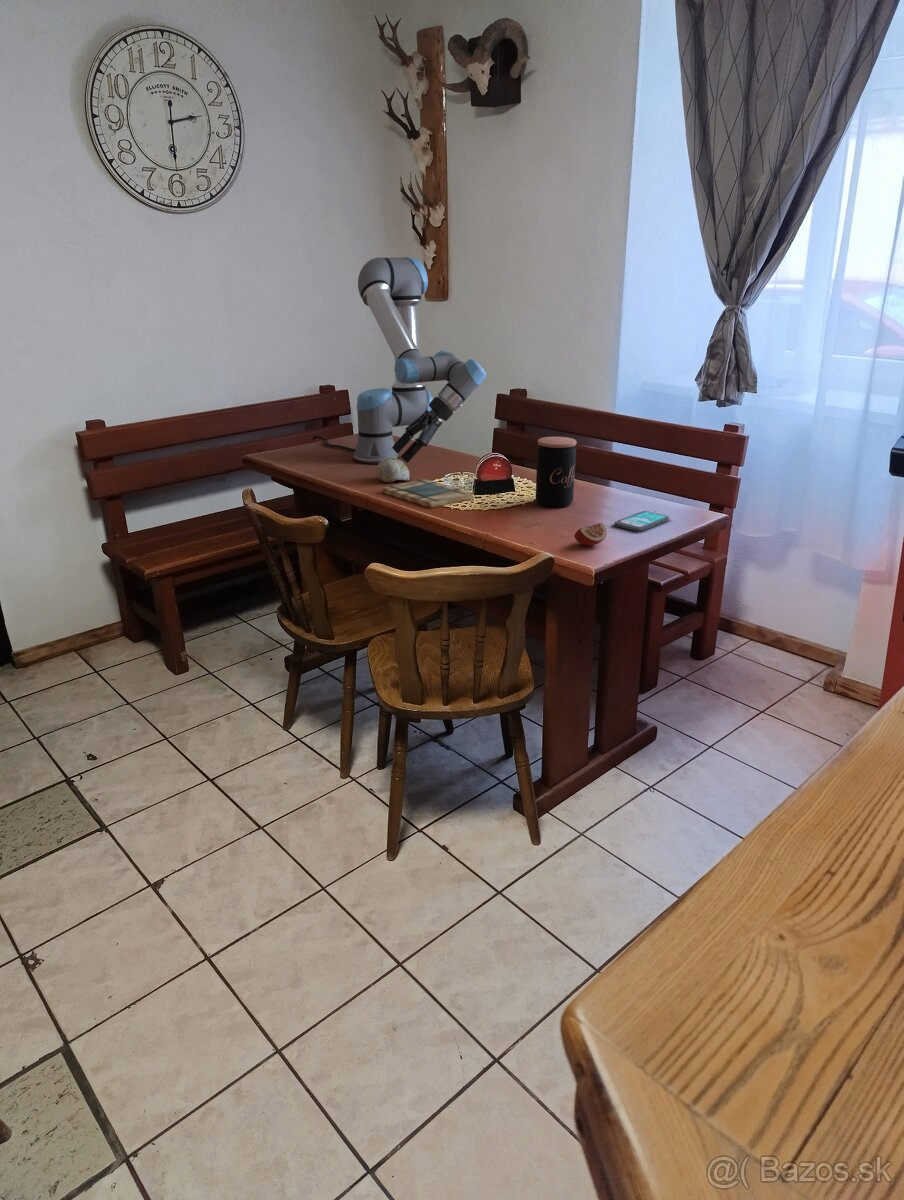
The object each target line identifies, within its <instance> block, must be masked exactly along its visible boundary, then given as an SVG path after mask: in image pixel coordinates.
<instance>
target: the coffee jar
mask: <svg viewBox="0 0 904 1200" xmlns="http://www.w3.org/2000/svg"><path fill="white" fill-rule="evenodd" d="M577 443H578V442H577V439H574V438H573V437H567V436H544V437H540V438H539V439H538V440H537V444H538V446H539V447H537V450H536V476H535V477H536V478H535V501H536V503H537V504H538V505H539V506H541V507H545V508H550V509H561V508H567V507H570V506H571V504H572V503H573V501H574V495H575V493H574V492H575V477H576V458H577V449H576V447H575V446H576V445H577Z"/></svg>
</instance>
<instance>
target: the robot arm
mask: <svg viewBox="0 0 904 1200" xmlns="http://www.w3.org/2000/svg"><path fill="white" fill-rule="evenodd" d="M428 286H429V279H428V273H427V270H426V267H425V265H424V264H423V262H421V260H420V259H418V258H415V257H407V256H403V257H402V256H401V257H381V256H380V257H379V256H378V257H374V258H371V259H370V260H369V261H366V263H365V264H363V266H362V268H361V269H360V271H359V274H358V278H357V289H358V294H359V296H360V298H361V300H362V303H363V304H364V305H365V306H367V307H369V309H370V311H371V313H372V315H373V317H374V319H375V321H376V323H377V325H378V327H379V329H380V330H381V333H382V334H383V336H384V339H385V340H386V342H387V344H388V346H389V349H390V350H391V352H392V354H393V356H394V368H393V369H394V370H393V371H394V373H395V381H394V382H393V384H392V385H391V389H390V388H385V387H380V388H373V389H371V388H370V389H367V390H365V391H364V390H363V391H362V392H360V393H359V394H358V395H357V398H356V411H357V431H358V433H357V434H358V437H357V438H358V439H357V442H356V446H355V448H351V447H348V446H345V445H341V444H331V443H329V440H328V439H327V438H326V437H323V436H322V435H318V434H316V435H313V437H312V438H311V439H312V440H316V439H320V440H322V441H324V443H323V444H324V446H325V447H327V448H328V447H329V448H338V449H342V450H346V451H349V452H354V454H353V458H354V461H355V462H357V463H359V464H366V465H367V464H368V465H369V464H370V465H378V464H379V463H380V462H381V461H382V460H384V459H386V458H396V459H399V453H400V452H401V451H402V450H403V449H404V448H405V447H406V446H407V445H408V443H409V442H410V441H411V440H413V439H414V436H416V435H417V434H418V433H419V432H420V434H419V436H418V437H417V438H415V439H414V441H413V442H412V444H410V446H409V447H408V448H407V449H406V450H405V451H404V452H403V453H402V454H401V455H400V458H401V459H402V460H403V461H404V462H405V463H407V464H408V463H409V462H410V461H411V460H412V459H413V458H414V456H416V454H417V453H418V452H419V451H420V450H421V449H422V448H425V447H427V446H428V445H429V444H430V442H431V441H432V439H433V437H434V436H435V434H436V433H437V431H438V429H439V428H440V427H441V426H442V425H443V423H444V422H447V421H448V420H449V419H450V418H451V417H452V416H453V415H454V412H456V411H458V409H459V408H462V407H463V403H464V402H465V401H466V400H467V399H468V398H469V397H470V396H471V395H472V393H474V391H475V390H476V389H477V388H479V386H480V385H481V384H482V382H483V381H484V380H485V379H486V377H487V372H486V371H485V369H484V368H483V367H482V366H481V364H479V363H478V362H477V361H476V360H474V359H472V358H469V359H468V360H467V361H462V360H461V359H460V358H459V357H457V356H456V355H454V354H453V353H451V352H449V351H448V350H439V351H438V352H436V353H435V354H434V355H432V356H422V354H421V351H420V337H419V334H420V333H419V317H418V313H419V312H418V306H419V304H420V303H421V302H422V296H423V295H424V294H425V293H427V288H428ZM441 381H446V382H447V383H446V384H445V385H444V386H443V387H442V388H441V389H440V390H439V391H438V392H437V396H434V397H433V396H432V393H431V392H430V390H428V389H427V388H426V384H425V383H427V382H428V383H430V382H441ZM442 420H443V421H442ZM404 426H406V427H405V429H404V430H405V432H404V433H403V434H402V435H401V436H400V437H399V438H398V439H397V440H396V442H395V440H394V437H393V428H398V427H404Z"/></svg>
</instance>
